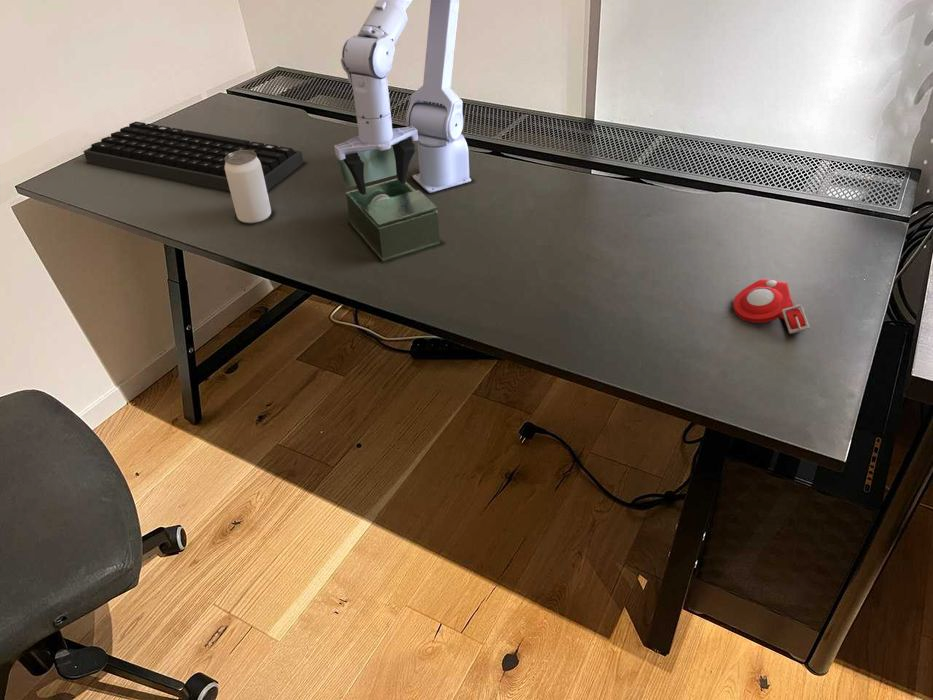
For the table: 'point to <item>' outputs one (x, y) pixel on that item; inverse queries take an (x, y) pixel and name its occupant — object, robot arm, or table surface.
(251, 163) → the can
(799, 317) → the tracker holder
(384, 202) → the green lidded box
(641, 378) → the table surface
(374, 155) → the green flat panel
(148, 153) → the computer keyboard
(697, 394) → the table surface
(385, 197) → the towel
